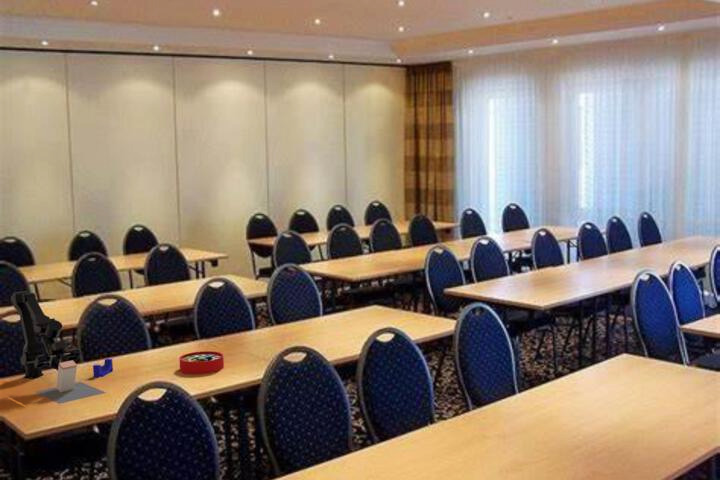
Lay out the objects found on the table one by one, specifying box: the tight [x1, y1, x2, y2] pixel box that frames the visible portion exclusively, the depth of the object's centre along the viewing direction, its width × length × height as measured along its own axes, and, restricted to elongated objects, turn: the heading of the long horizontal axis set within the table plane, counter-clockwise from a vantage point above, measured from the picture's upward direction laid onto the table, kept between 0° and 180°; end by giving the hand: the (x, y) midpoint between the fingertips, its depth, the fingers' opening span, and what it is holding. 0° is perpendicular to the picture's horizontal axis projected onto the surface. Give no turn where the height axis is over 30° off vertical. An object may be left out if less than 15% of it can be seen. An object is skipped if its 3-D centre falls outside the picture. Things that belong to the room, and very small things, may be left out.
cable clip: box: [92, 358, 114, 378], centre depth 370 cm, size 12×4×6 cm, turn 169°
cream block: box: [55, 360, 78, 392], centre depth 343 cm, size 4×6×12 cm, turn 135°
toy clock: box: [179, 350, 225, 375], centre depth 376 cm, size 20×6×20 cm
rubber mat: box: [35, 381, 107, 405], centre depth 341 cm, size 24×20×1 cm
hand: (64, 374), depth 344 cm, fingers closed
